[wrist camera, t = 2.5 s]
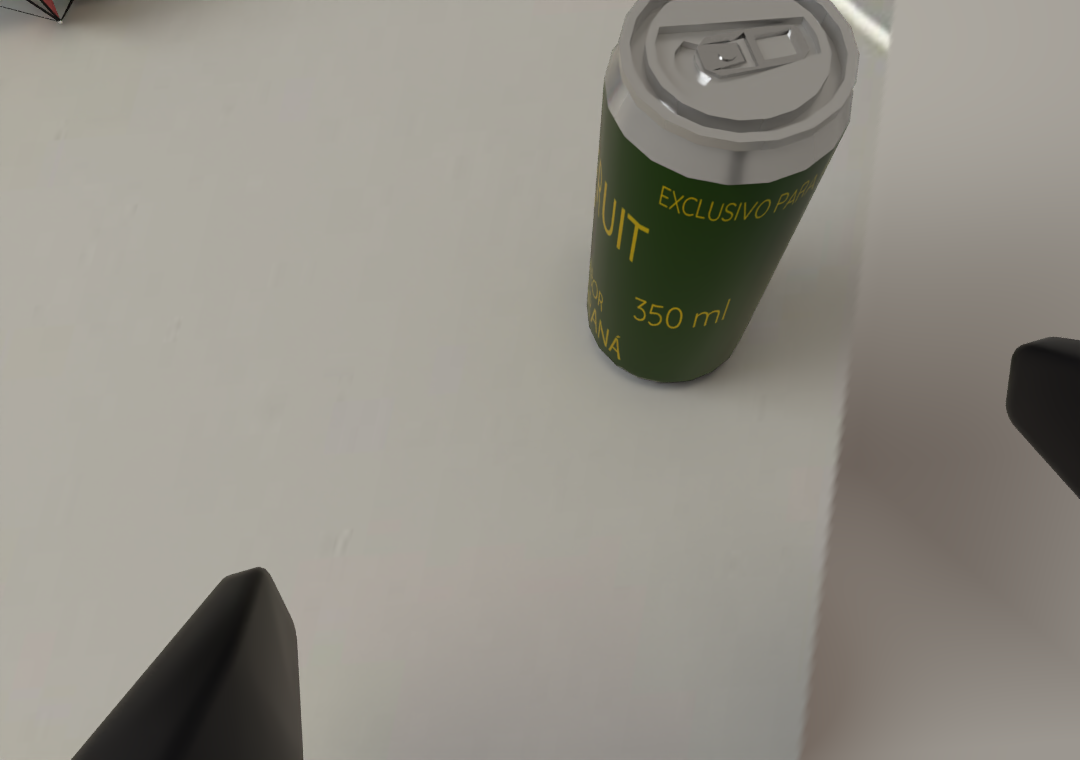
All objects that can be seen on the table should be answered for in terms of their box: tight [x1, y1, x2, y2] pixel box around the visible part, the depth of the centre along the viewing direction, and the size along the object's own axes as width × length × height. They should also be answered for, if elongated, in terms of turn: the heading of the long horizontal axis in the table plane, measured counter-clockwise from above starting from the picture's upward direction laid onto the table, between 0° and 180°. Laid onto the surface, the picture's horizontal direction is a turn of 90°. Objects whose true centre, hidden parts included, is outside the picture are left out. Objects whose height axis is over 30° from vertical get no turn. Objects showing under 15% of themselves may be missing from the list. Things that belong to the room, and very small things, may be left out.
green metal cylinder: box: [587, 0, 860, 383], centre depth 21 cm, size 5×5×12 cm
